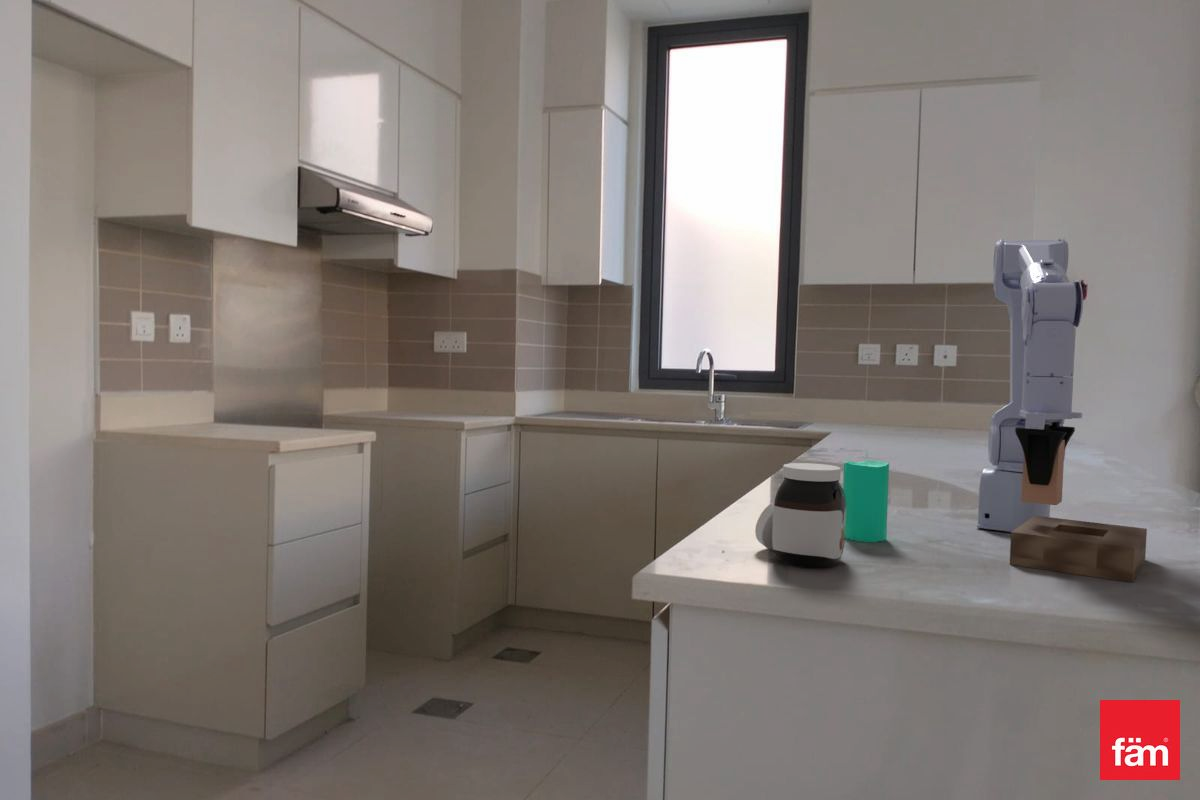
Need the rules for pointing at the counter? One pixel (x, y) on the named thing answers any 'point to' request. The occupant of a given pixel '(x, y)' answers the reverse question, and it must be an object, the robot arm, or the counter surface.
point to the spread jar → (806, 517)
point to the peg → (1045, 492)
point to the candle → (866, 500)
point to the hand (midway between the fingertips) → (1042, 482)
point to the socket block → (1079, 547)
